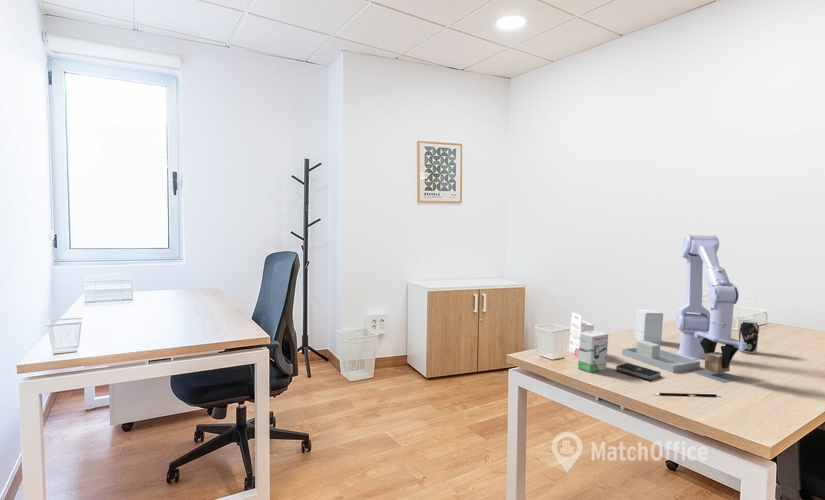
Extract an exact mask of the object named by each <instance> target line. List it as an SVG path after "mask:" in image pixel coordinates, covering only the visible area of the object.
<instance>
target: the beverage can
mask: <svg viewBox="0 0 825 500" xmlns="http://www.w3.org/2000/svg"><path fill="white" fill-rule="evenodd" d="M759 332H760V326H759V324H758V321H756V320H755V321H754V320H751V319H750V320H749V319H742V320H741V323H740V324H739V332H738V333H739V334H738V341H741V342H745V343H747V347H746V349H744V350H741V349H739V350H738V351H740V352H741V353H744V354H749V355H753V354H756V353H757V352H758V342H759Z"/></svg>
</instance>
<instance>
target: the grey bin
mask: <svg viewBox="0 0 825 500" xmlns="http://www.w3.org/2000/svg"><path fill="white" fill-rule="evenodd" d="M621 353H622V354H621V355H622V356H624V357H626V358H630V359H632V360H636V361H638V362H641V363H644V364H647V365H649V366H653V367H656V368H659V369H661V370H665V371H667V372H670V373H678V372H686V371H692V370H698V369H700V367H701V361H698V360H697V359H696V360H694V359H690V358H687V357H684V356H681V355H677V354H674V352H670V351H666V350H663V349H660V357H659V359H657V360H656V359H653V358H650V357H647V356H644V355H641V354H638V353H637V346H636V347H630V348H629V347H628V348H622V351H621Z"/></svg>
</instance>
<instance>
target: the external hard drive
mask: <svg viewBox="0 0 825 500" xmlns="http://www.w3.org/2000/svg"><path fill="white" fill-rule="evenodd" d="M615 367H616V368H615V369H616V370H615V371H616V372H618V373H621V374H624V375H627V376H630V377H634V378H635V379H639V380H643V381H646V382H652V381H653V380H656V379H657V378H661V372H660V371H658V370H654V369H651V368H648V367H645V366H640V365H637V364H633V363H630V362H624V363H622V364H619V365H616V366H615Z"/></svg>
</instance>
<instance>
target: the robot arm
mask: <svg viewBox="0 0 825 500" xmlns="http://www.w3.org/2000/svg"><path fill="white" fill-rule="evenodd" d="M719 247H720V241H719V238H718V236H716V235H699V234H698V235H697V234H695V235H694V234H686V235H685V236H684V237H683V239H682V241H681V256H682V258H684V259H685V260H686V292H685V293H686V295H685V297H686V300H685V301H686V302H685V304H684V305H682V306H681V307H679V308H678V309H677V311H676V312H677V313H676V316H675V325H676V328H677V329H678V330H679V331H680V334H679V336H680V337H679V349H678V351H674V352H673V354H677V355H680V356H683V357H686V358H690V359H693V360H696V361H697V360H701V359H705V355H706V354H707V353H714V352H716V348H717V344H721V345H720V349H721V350H720V351H721V353H722V368H724V369H725V368H728V367H729V364H730V365H731V362H732V359H733V357H734V356H735V354H737V352H738V351H740V350H739V349H741V350H744V349H746V347H747V343H745V342H741V341H739V339H735V338H733V337H732V331H733V328H732V327H733V318H734V305H735V304H736V305H737V303H738V301H739V296H740V295H739V290H738V287H737V286H736V285H734V283H732V282H731V281H730V279H729V277H728V274H727V272H726V269H725V268H723V267H722V266H720V263H719V259H718V258H719V257H718V255H717V253H718V250H719ZM703 265H704V267H705V269H706V270H705V272H704V270H703V269H704V268H703ZM703 272H704V276H705V279H706V282H707V284H708V285H707V286H708V288H709V289H708V295H707V296H708V301H709V308H710V310H708V309H707V308H706V307H704V306H703Z"/></svg>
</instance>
